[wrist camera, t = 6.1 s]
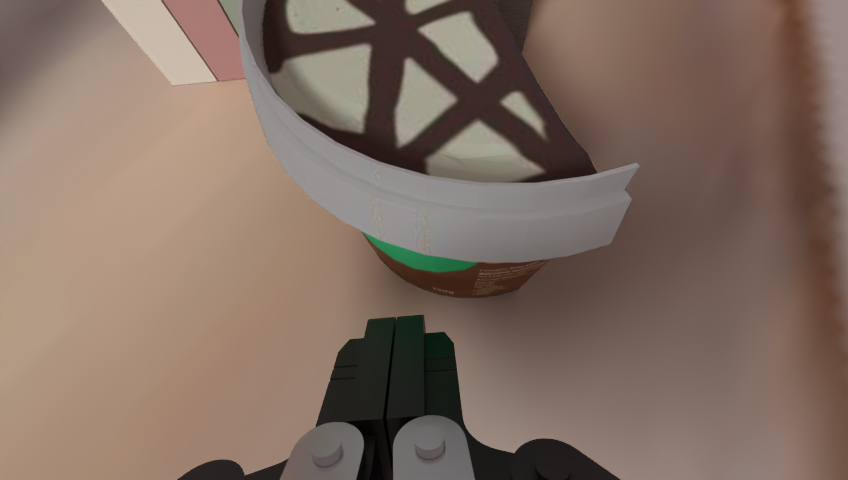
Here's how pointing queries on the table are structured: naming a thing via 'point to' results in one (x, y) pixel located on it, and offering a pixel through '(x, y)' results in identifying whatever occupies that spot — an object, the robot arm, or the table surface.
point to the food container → (426, 138)
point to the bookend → (515, 17)
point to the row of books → (185, 36)
